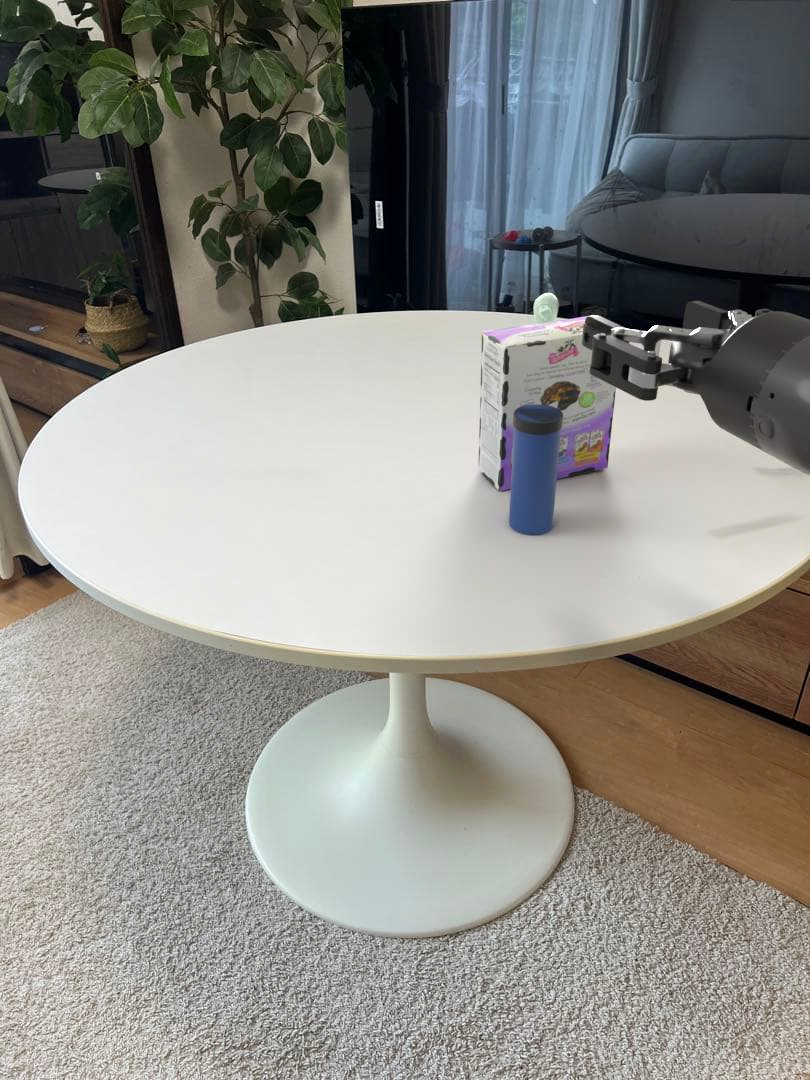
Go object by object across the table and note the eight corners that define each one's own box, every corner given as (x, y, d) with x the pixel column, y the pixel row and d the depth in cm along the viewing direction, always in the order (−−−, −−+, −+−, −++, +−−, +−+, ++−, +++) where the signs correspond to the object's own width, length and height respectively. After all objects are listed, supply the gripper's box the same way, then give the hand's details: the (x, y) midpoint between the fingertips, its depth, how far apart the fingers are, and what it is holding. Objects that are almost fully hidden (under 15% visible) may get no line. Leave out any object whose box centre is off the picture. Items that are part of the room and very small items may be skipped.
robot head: (529, 326, 137) (532, 287, 134) (553, 326, 137) (556, 286, 133) (534, 340, 130) (536, 299, 127) (559, 340, 130) (562, 299, 126)
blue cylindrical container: (539, 509, 82) (547, 401, 76) (562, 529, 79) (572, 418, 72) (500, 518, 81) (504, 408, 75) (521, 539, 77) (528, 426, 71)
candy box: (581, 450, 94) (595, 312, 86) (608, 470, 90) (626, 327, 81) (476, 470, 90) (479, 328, 82) (498, 492, 86) (505, 344, 77)
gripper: (928, 314, 44) (728, 258, 57) (721, 349, 40) (556, 280, 53) (888, 437, 48) (710, 358, 61) (696, 481, 44) (548, 386, 57)
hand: (639, 322), depth 57 cm, fingers open, 8 cm apart
